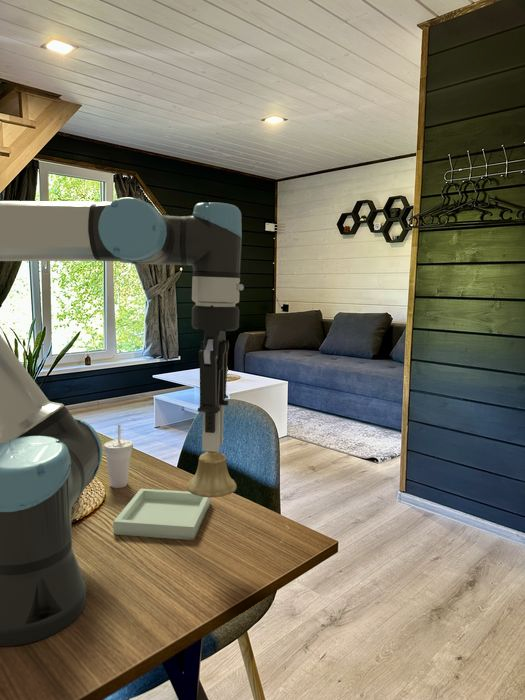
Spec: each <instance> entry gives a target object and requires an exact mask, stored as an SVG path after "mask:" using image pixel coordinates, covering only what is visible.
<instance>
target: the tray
mask: <svg viewBox="0 0 525 700" xmlns="http://www.w3.org/2000/svg"><path fill="white" fill-rule="evenodd" d="M210 506H211V497H201V496H197V495H195V494H192V493H190V492H189V491H188V490H186V491H184V490H183V491H182V490H173V489H172V490H169V489H154V488H153V489H152V488H140V489H139V490H138V491H137V492H136V494H135V495H134V496H133V497H132V498H131V500H130V501H129V502H128V503H127V505H125V507H124V508H123V509H122V510H121V511H120V513H119V514H118V515H117V516H116V518H115V519H114V520H113V535H118V536H119V535H120V536H130V537H133V536H134V537H146V538H156V539H157V538H159V539H160V538H161V539H172V540H173V539H174V540H184V541H185V540H187V541H195V539H196V537H197V534H198V533H199V530H200V528H201V525H202V523H203V521H204V519H205V517H206V515H207V512H208V510H209V508H210Z"/></svg>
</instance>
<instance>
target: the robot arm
mask: <svg viewBox="0 0 525 700" xmlns="http://www.w3.org/2000/svg"><path fill="white" fill-rule="evenodd" d="M242 228H243V227H242V212H241V210H240V209H239V207H238V206H236V205H234V204H230V203H226V202H225V203H224V202H198V203H196V204H195V205H194V207H193V212H192V215H187V216H186V215H184V216H183V215H182V216H179V215H167V214H166V215H165V214H164V215H163V214H161V212H160V211H159V210H158V209H157V208H156V207H155V206H154V205H152V204H151V203H150V202H147V201H144V200H143V199H141V198H136V197H131V196H129V197H127V196H126V197H120V198H117V199H115V200H113V201H100V202H99V201H58V200H57V201H53V200H52V201H51V200H50V201H49V200H47V201H45V200H44V201H41V200H39V201H34V200H21V201H20V200H0V262H71V261H72V262H119V263H122V264H123V263H124V264H132V265H137V266H140V265H161V266H162V265H164V266H165V265H167V266H170V265H171V266H172V265H173V266H192V283H191V285H192V286H191V300H192V302H193V303H195V305H193V307H192V308H191V327H192V328H193V330H194V329H195V330H198V331H203V332H204V335H203V337H204V338H203V341H200V348H199V349H200V350H198V360H199V407H198V408H197V412H198V413H202V431H201V433H202V434H201V435H202V436H201V440H202V441H201V451H202V452H207V451H213V452H219V453H220V446H223V444H224V415H225V413H224V409H225V406H227V407H228V406H229V400H226V399H227V377H228V355H229V349H230V343H229V342H230V341H229V340H227V339H226V337H227V336H226V335H227V334H226V332H232V331H236V330H238V329H239V327H240V308H239V306H236V304H238V303H240V291H243V290H244V288H245V286H244V284H242V283H240V282H241V279H240V278H241V268H242V267H241V265H242V264H241V263H242V243H243V242H242V241H243V240H242V239H243V234H242V233H243V231H242ZM219 404H220V408H221V418H220V411H219ZM102 444H103V443H102V441H101V438H100V435H99V434H98V432H97V431H96V430H95V428H94V427H93V426H92V425H90V423H88V422H86V421H84V420H82V419H78V418H74V416H73V415H72V413H71V412H70V411H69V410H68V408H67V407H66V406H65V405H64V404H63V403H60V402H55V401H54V402H53V401H50V400H49V399H48V397H47V396H46V395H45V394H44V392H43V391H42V389H41V388H40V387H39V385H38V383H37V382H36V381H35V380H34V379H33V377H32V376H31V375H30V373H29V372H28V370H27V369H26V368H25V366H24V365H23V364H22V363H21V361H20V360H19V358H18V357H17V356H16V354H15V353H14V352H13V350H12V348H10V346H9V345H8V343H7V342H6V340H5V339H4V338H3V337H2V335H1V334H0V647H12V646H13V647H14V646H21V645H25V644H26V645H27V644H31V643H33V642H37V641H40V640H43V639H45V638H48V637H51V636H52V635H55V634H56V633H58V632H60V631H61V630H63V629H65V628H67V627H68V626H69V625H70V624H71V623H73V622H74V621H75V620H76V619H77V618H78V617H79V616H80V614H81V613H82V612H83V610H84V608H85V607H86V602H87V584H86V580H85V577H84V575H83V573H82V570H81V568H80V565H79V563H78V560H77V558H76V555H75V553H74V551H73V546H72V545H73V540H72V535H73V534H72V510H73V509H72V508H73V506H74V505H75V503H76V501H77V500H78V499H79V498H80V497H81V495H82V494H83V492H84V491H85V490H86V488H87V487H88V486H89V485H90V484H91V482H92V481H93V480H94V479H95V477H96V475H97V473H98V472H99V468H100V465H101V463H102V460H103V445H102Z"/></svg>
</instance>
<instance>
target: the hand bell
mask: <svg viewBox="0 0 525 700" xmlns="http://www.w3.org/2000/svg"><path fill="white" fill-rule="evenodd" d="M219 411H220V418H221V408H220V404H219ZM237 486H238V485H237V483H236V481H235V480H234V479H233V478H232V477H231V476H230V473H229V469H228V465H227V457H226V455H225V454H223V453H222V452H220V451H219V452H213V451H205V452H204V453H201V454H200V455H199V457H198V465H197V467H196V472H195V474H194V475H193V477H192V478H191V479H190V480H188V483H187V485H186V491H187V492H190V493H192V494H195V495H197V496H201V497H210V498H220V497H221V498H222V497H227V496H228V495H232V493H234V492H235V491H237V489H238V487H237Z"/></svg>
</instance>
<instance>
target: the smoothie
mask: <svg viewBox="0 0 525 700" xmlns="http://www.w3.org/2000/svg"><path fill="white" fill-rule="evenodd" d="M121 438H122V436H121V423H118V424H117V439H112V440H109V441H106V442H104V443H103V451H104V452H105V457H106V463H107V471H108V477H109V478H108V479H109V484H110V487H111V488H114V489H120V488H125V487H126V486H127V485H128V482H129V481H128V480H129V473H130V465H131V457H132V449H133V448H134V446H133V445H134V444H133V441H131V440H129V439H121Z"/></svg>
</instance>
